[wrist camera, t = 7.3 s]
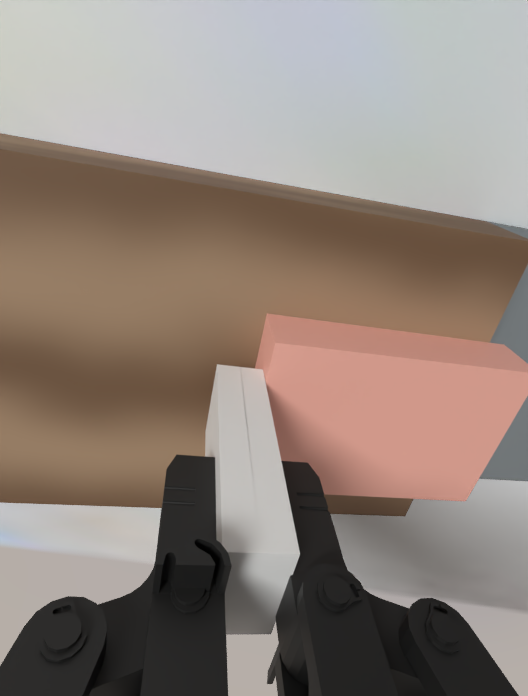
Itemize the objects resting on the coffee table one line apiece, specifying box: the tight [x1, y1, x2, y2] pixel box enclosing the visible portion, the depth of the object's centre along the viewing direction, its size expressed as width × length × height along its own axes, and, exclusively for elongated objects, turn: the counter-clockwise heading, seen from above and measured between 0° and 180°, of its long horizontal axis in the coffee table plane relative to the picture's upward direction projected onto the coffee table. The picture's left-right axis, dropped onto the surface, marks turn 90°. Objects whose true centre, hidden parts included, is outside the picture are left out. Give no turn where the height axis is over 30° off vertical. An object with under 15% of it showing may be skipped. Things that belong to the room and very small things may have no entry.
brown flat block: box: [0, 133, 528, 516], centre depth 17 cm, size 13×18×3 cm
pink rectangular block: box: [255, 313, 528, 501], centre depth 16 cm, size 9×6×2 cm, turn 79°
